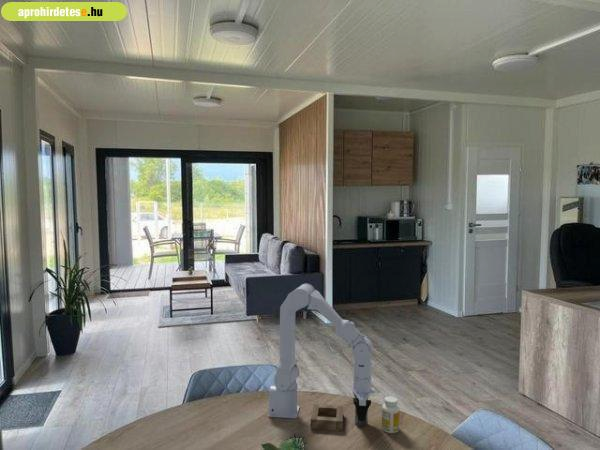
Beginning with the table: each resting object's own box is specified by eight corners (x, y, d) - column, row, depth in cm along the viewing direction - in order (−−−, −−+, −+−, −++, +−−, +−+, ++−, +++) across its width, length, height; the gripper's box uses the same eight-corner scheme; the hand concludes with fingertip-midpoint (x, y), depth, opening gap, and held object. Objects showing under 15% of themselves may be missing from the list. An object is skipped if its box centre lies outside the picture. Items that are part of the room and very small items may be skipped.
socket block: (310, 428, 134) (310, 419, 134) (313, 412, 144) (313, 404, 144) (342, 430, 133) (342, 421, 133) (342, 414, 143) (343, 405, 143)
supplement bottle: (397, 425, 137) (398, 395, 136) (400, 434, 132) (400, 403, 131) (380, 424, 138) (381, 394, 137) (382, 433, 132) (383, 402, 132)
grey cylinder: (355, 425, 136) (355, 401, 135) (354, 419, 140) (355, 395, 139) (367, 426, 135) (368, 402, 135) (367, 420, 139) (367, 396, 139)
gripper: (376, 386, 129) (375, 429, 130) (373, 367, 143) (372, 406, 144) (352, 384, 130) (352, 428, 131) (352, 366, 144) (351, 405, 145)
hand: (361, 416), depth 137 cm, fingers closed on grey cylinder, 4 cm apart
